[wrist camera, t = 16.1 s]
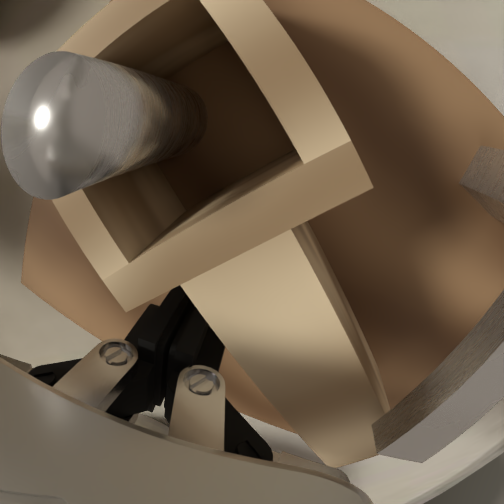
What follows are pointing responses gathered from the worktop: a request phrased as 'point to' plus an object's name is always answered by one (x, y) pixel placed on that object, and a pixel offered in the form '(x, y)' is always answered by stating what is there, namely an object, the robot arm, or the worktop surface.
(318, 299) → the link
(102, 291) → the board
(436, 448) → the bracket
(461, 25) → the worktop surface
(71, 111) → the ball
